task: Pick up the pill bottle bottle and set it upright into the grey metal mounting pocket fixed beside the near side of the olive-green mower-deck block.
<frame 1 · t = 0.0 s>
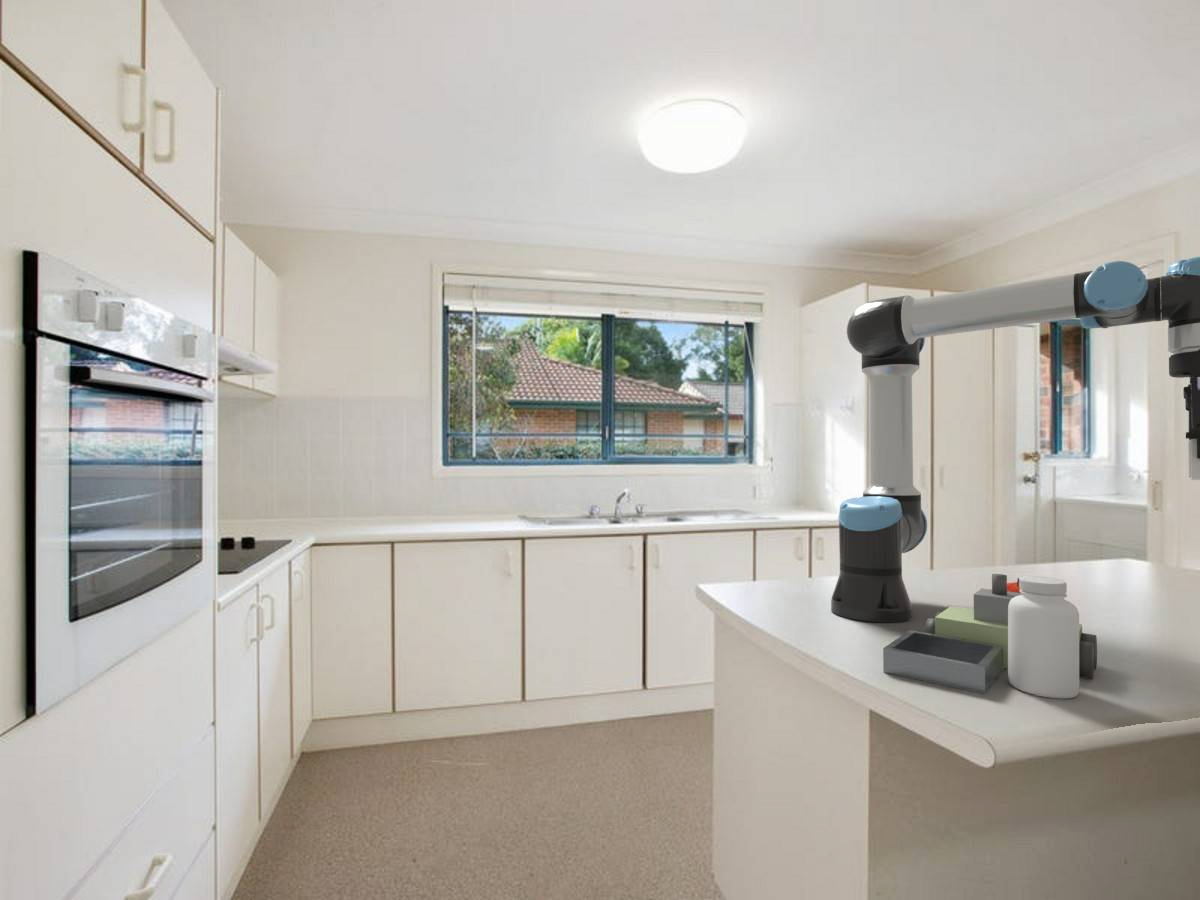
mower deck: (1007, 659, 97), on the countertop
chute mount: (943, 670, 92), on the countertop
pill bottle: (1043, 690, 85), on the countertop
apple: (1018, 619, 122), on the countertop
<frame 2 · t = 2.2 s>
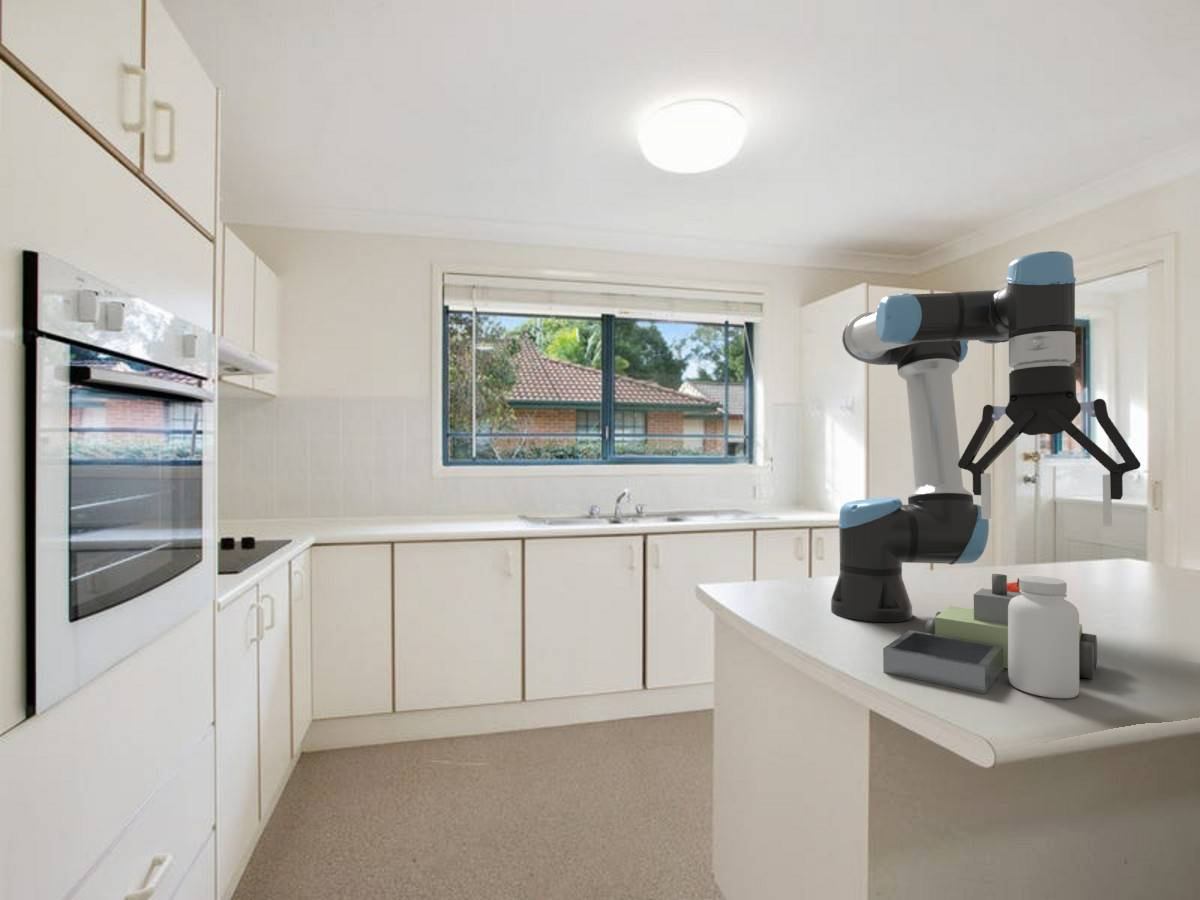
hand: (1043, 521, 85), 23 cm above the countertop, tool pointing down, fingers open, 13 cm apart
nothing on the countertop moved.
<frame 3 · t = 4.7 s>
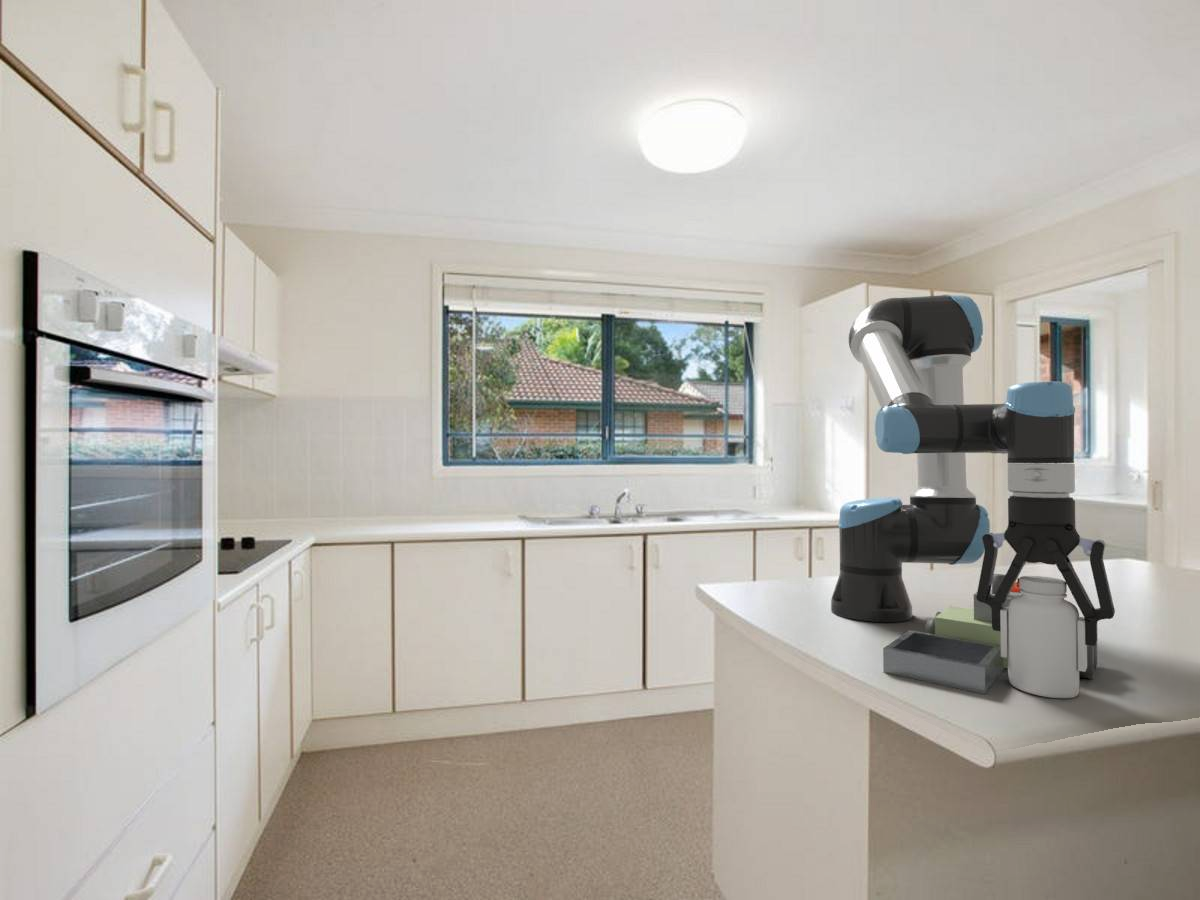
hand: (1042, 661, 85), 4 cm above the countertop, tool pointing down, fingers closed on pill bottle, 8 cm apart
pill bottle: (1043, 690, 85), on the countertop, touching gripper
everything else where it was.
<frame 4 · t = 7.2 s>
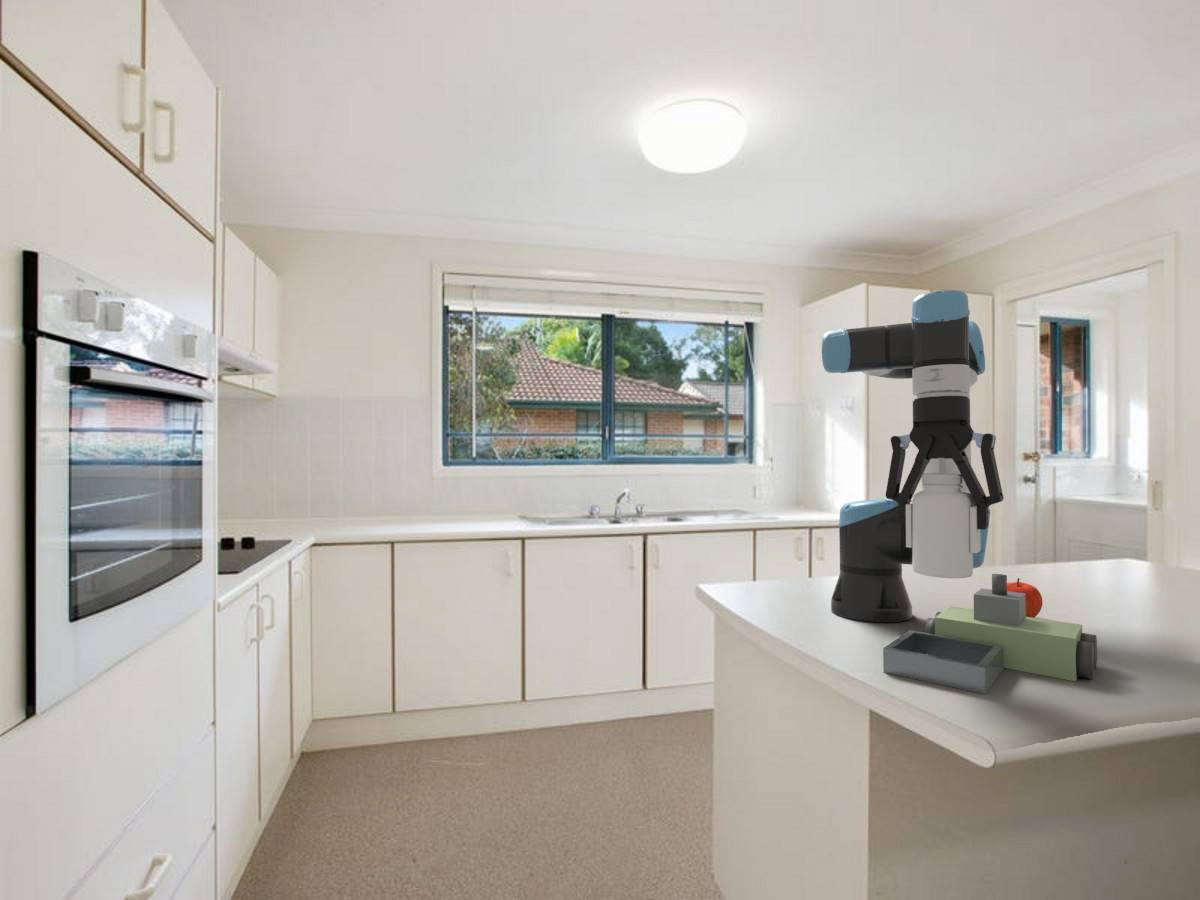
hand: (942, 548, 92), 18 cm above the countertop, tool pointing down, fingers closed on pill bottle, 8 cm apart
pill bottle: (942, 575, 92), point 14 cm above the countertop, touching gripper
everything else where it was.
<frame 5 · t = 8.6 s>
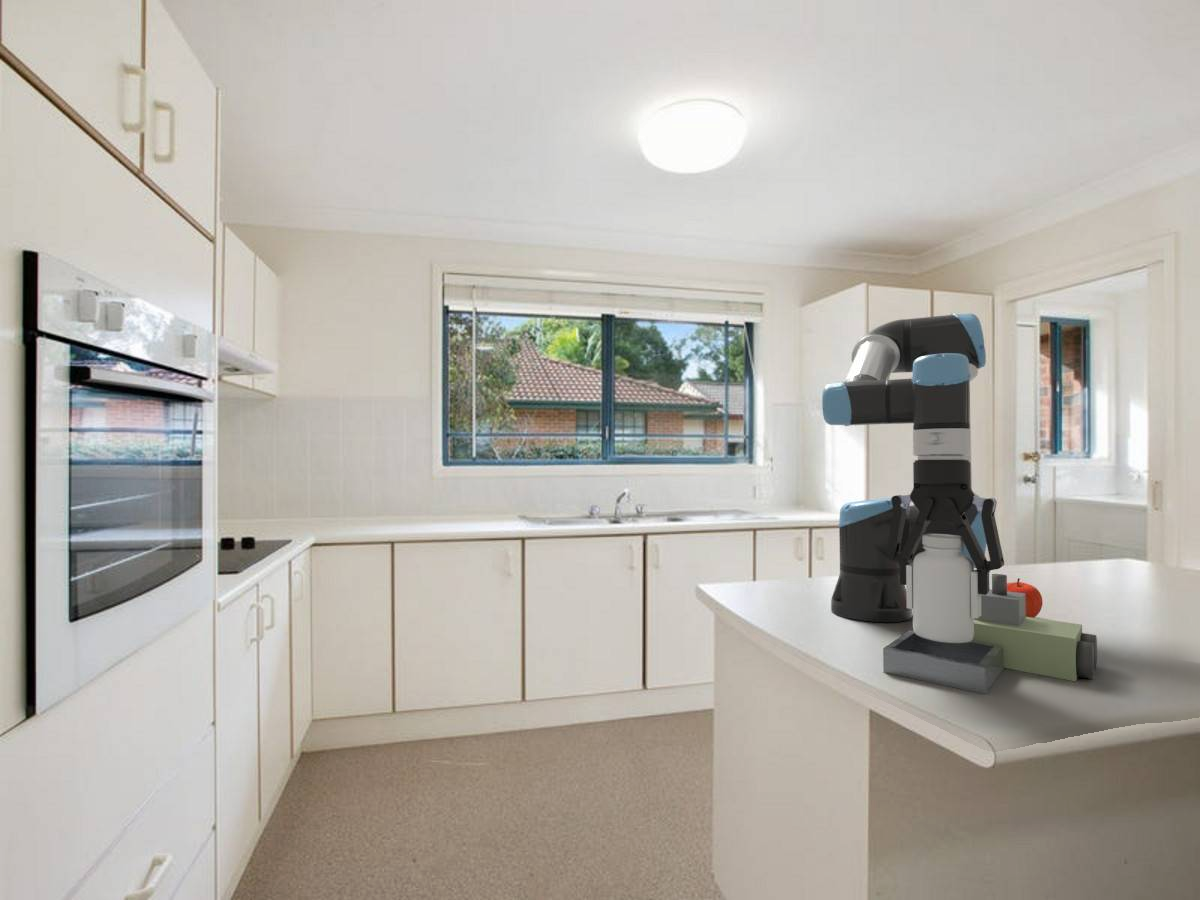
hand: (943, 611, 92), 9 cm above the countertop, tool pointing down, fingers closed on pill bottle, 8 cm apart
pill bottle: (943, 638, 92), point 5 cm above the countertop, touching gripper
everything else where it was.
when the fingers open (6 cm above the countertop, at t = 9.7 s): pill bottle drops 1 cm, resting on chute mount.
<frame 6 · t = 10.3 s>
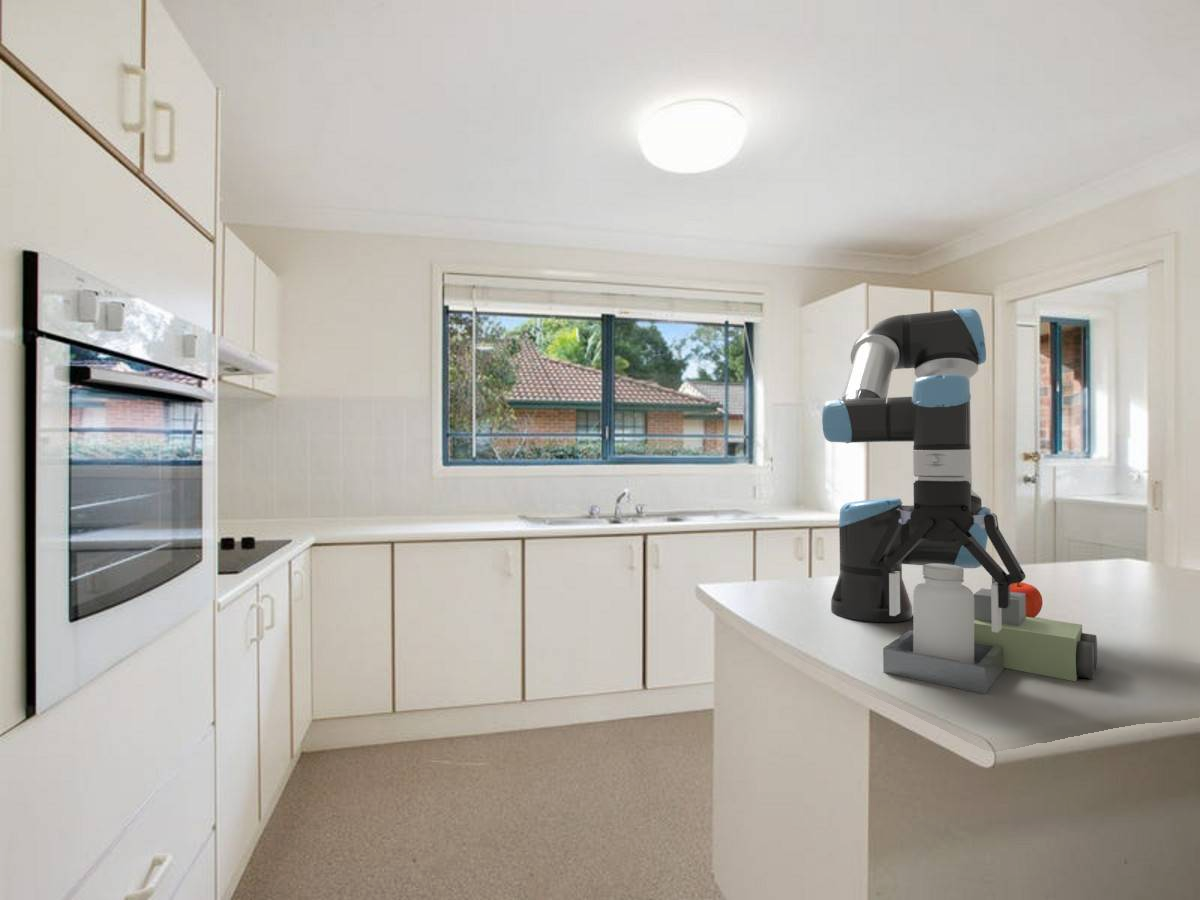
hand: (943, 622, 92), 7 cm above the countertop, tool pointing down, fingers open, 13 cm apart
pill bottle: (943, 668, 92), resting on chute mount
everything else where it was.
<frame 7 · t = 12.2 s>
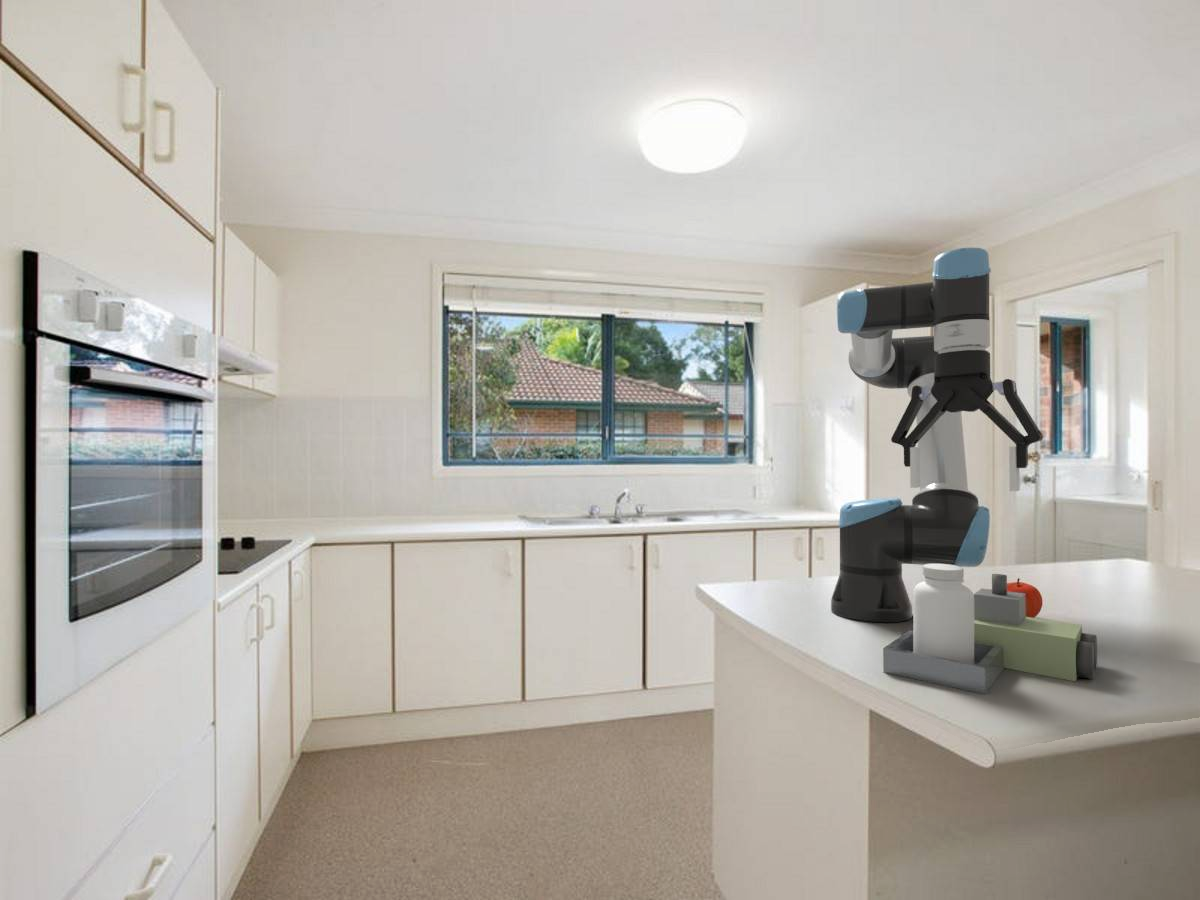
hand: (962, 489, 96), 27 cm above the countertop, tool pointing down, fingers open, 13 cm apart
nothing on the countertop moved.
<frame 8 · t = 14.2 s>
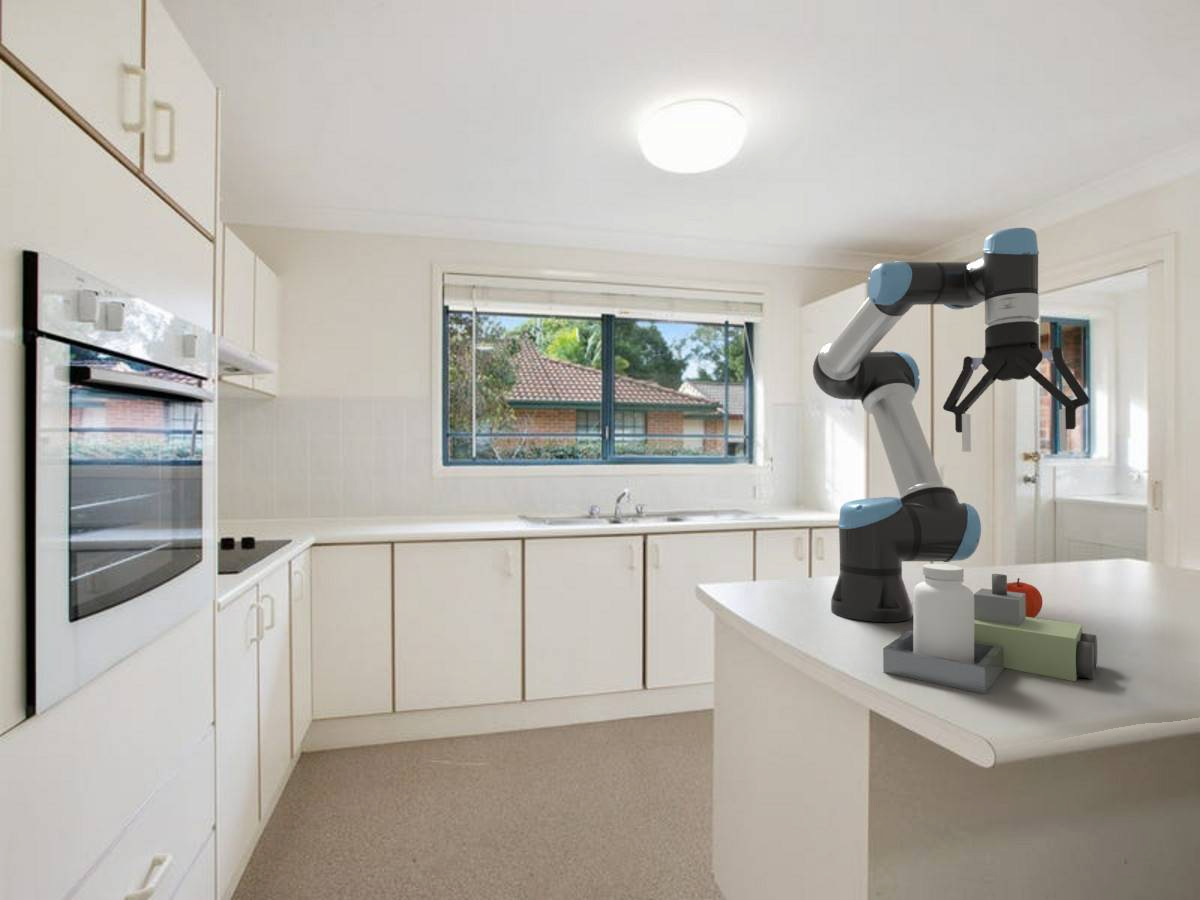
hand: (1013, 451, 103), 33 cm above the countertop, tool pointing down, fingers open, 13 cm apart
nothing on the countertop moved.
at the end: pill bottle 0.0 cm off-centre on the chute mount, point 0.3 cm above the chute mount's base; pill bottle tilted 0°; the gripper is holding nothing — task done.
